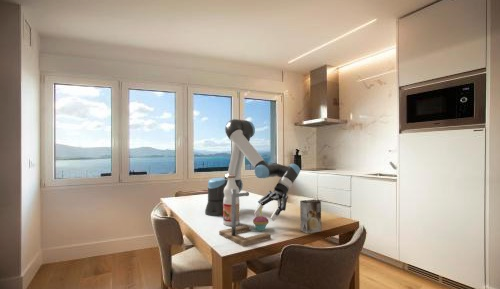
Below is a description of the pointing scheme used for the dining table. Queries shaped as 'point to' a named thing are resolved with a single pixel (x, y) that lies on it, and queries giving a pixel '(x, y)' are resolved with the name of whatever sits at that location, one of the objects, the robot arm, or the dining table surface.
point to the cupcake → (260, 222)
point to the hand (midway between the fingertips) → (263, 217)
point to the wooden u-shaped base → (241, 240)
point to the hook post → (235, 208)
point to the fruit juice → (230, 201)
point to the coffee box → (310, 216)
